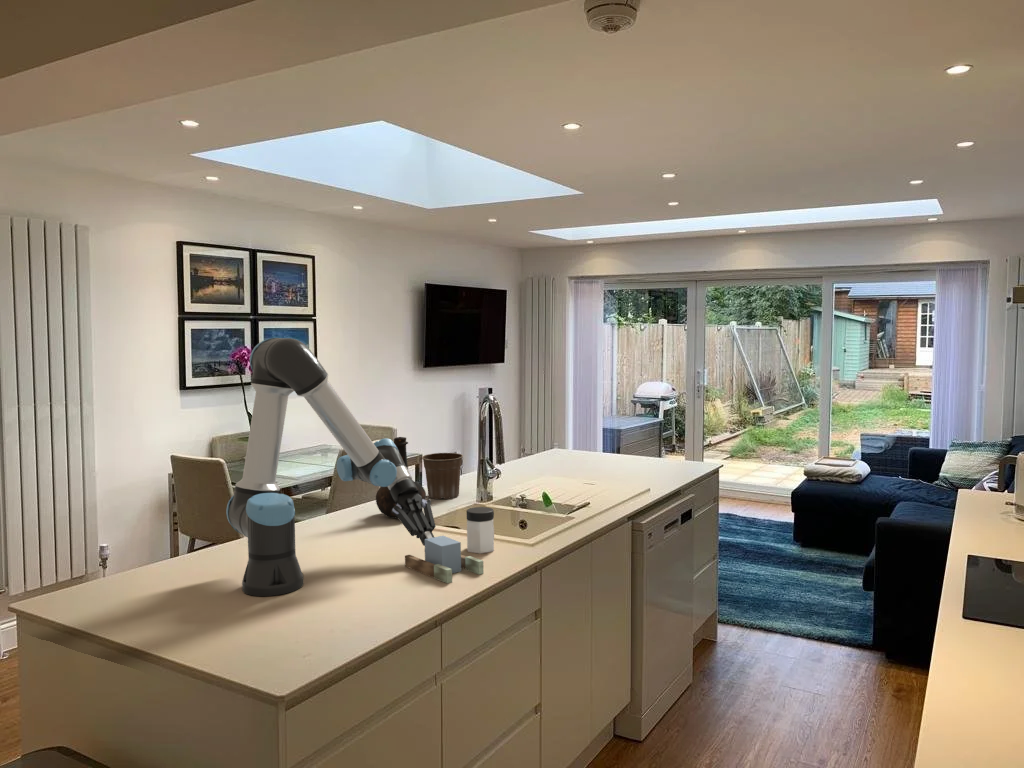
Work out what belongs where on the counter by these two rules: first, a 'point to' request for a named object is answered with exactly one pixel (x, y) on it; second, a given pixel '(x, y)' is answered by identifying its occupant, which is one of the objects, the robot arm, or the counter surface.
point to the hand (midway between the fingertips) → (434, 553)
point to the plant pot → (443, 474)
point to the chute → (443, 567)
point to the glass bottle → (383, 494)
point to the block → (443, 552)
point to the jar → (480, 530)
